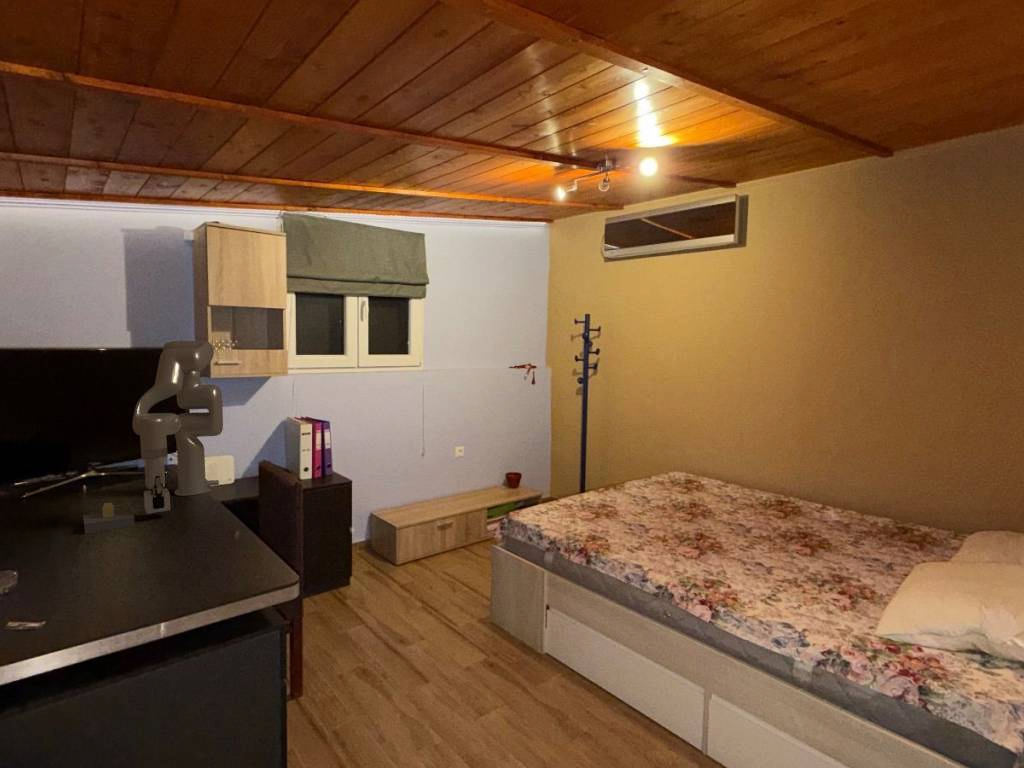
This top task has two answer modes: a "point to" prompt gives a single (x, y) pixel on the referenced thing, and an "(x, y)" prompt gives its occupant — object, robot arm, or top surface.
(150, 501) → the grey cube
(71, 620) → the top surface
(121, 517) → the grey block
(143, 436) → the robot arm
